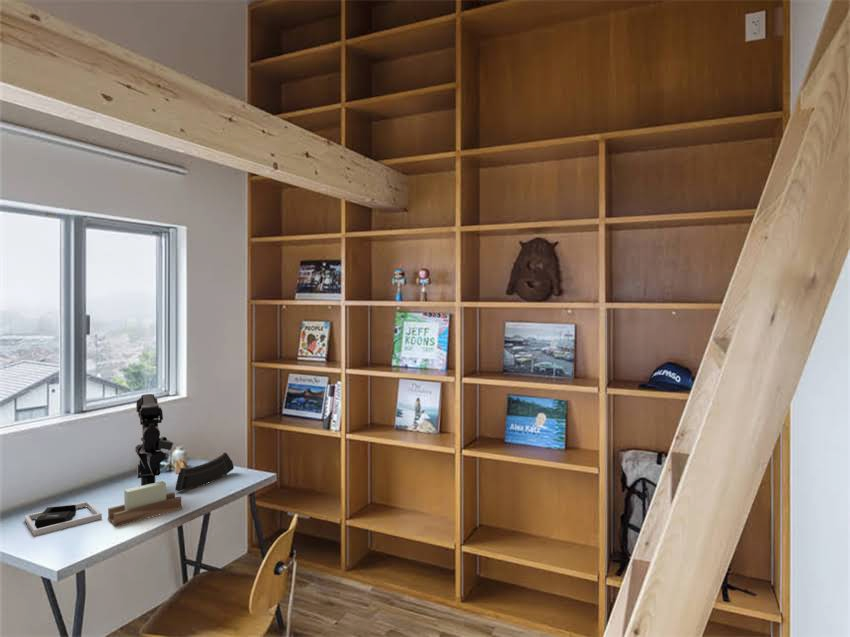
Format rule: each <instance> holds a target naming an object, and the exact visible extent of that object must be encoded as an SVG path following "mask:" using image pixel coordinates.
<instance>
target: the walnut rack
mask: <svg viewBox="0 0 850 637" xmlns="http://www.w3.org/2000/svg"><path fill="white" fill-rule="evenodd" d="M178 509H179V510H182V509H183V507H182V497H181V496H177V497H176V493H175V492H170V493H166V500H164V501H160V502H156V503H152V504H148V505H144V506H140V507H136V508H133V509H129V510H125V503H124V504H121V505H116V506H113V507H109V508H108V509H107V513H108V514H107V516H108V517H107V520H108V521H109V522H110V524H112V526H113V527H115V526H117V527H120V526H123V524H124V525H127V524H126V523H128V524H131V523H134V522H133V521H135V522H138V521H137V520H139V521H141V520H140V519H142V520H146V519H149V518H148V517H150V518H153V517H152V516H154V517H157V516H160V515H159V514H161V515H164V514H163V513H165V514H168V513H171V511H172V512H175V511H174V510H176V511H179V510H178ZM167 512H168V513H167ZM156 515H157V516H156ZM145 518H146V519H145ZM130 522H131V523H130ZM119 525H120V526H119Z"/></svg>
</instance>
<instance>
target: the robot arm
mask: <svg viewBox="0 0 850 637" xmlns="http://www.w3.org/2000/svg"><path fill="white" fill-rule="evenodd" d="M135 405H136V408H135V409H136V413H137V416H138V418H139V422H140V423H139V425H140V426H142V428H141V429H142V437H140V440H141V441H142V443H141V444H137V445H136V446H135V448H134V449H135V453H136V455H137V457H138V458H139V462H138V463H139V464H137V473H136V475H137V479H140V486H143V485H148V484H152V483H156V477H157V476H159V475H161V468H162V465H161V463H162V462H163V461H165V460H166V459H167V453H165V452H164V451H162V449H163V450H167V451H172V449H173V446H174V442H173V441H172V440H168V438H167V437H166V436H161V432H160V428H159V424H161V423H162V421H163V419H164V417H163V416H164V415H163V409H162V407H160V404H159V403H158V398H157V397H155V395H154V393H147V394H142V395H141V397H140V398H138V399H137V400H136V404H135ZM160 436H161V437H160Z"/></svg>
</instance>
